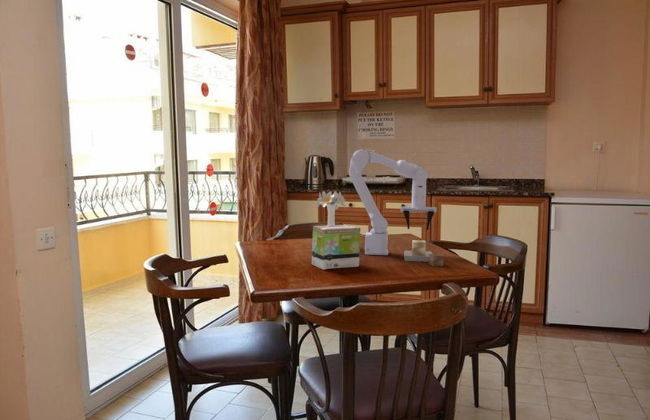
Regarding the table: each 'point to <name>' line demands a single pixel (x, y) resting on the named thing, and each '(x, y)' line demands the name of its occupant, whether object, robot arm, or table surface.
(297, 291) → the table surface
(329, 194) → the flower vase
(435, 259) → the walnut block
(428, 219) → the robot arm
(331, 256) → the tea box
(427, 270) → the table surface
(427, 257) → the plate
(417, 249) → the maple cube
